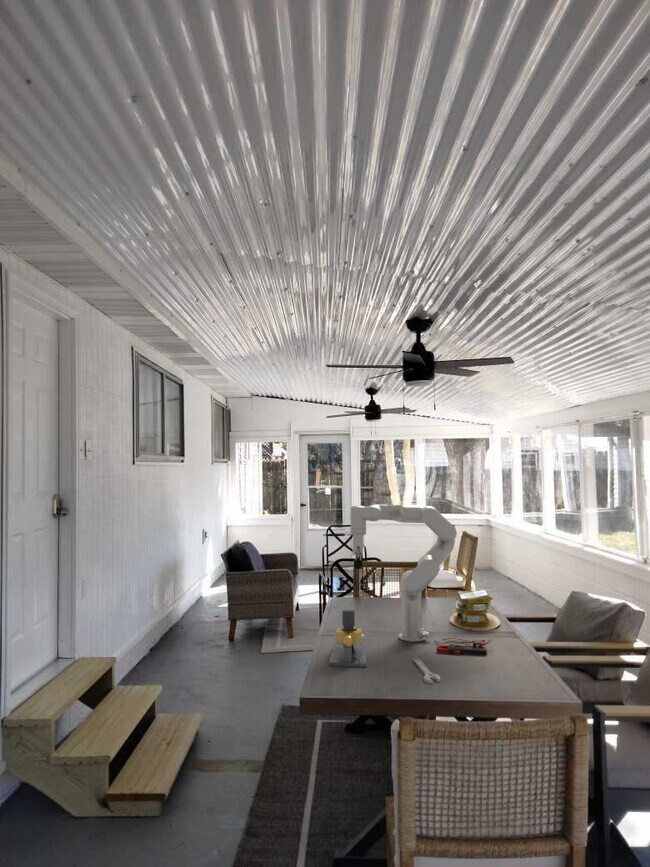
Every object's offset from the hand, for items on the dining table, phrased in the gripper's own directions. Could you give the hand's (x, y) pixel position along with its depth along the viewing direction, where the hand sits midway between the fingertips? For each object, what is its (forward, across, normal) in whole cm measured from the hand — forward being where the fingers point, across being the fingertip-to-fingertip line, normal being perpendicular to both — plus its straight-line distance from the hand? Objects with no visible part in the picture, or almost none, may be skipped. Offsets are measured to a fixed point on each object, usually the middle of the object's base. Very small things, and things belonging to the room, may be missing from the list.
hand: (358, 566), depth 266 cm
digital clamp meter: (+34, +11, +47) cm, 59 cm away
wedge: (+26, +28, -4) cm, 38 cm away
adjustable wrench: (+34, +43, +28) cm, 62 cm away
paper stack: (+34, -28, +59) cm, 74 cm away
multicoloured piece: (+33, +28, -3) cm, 43 cm away
